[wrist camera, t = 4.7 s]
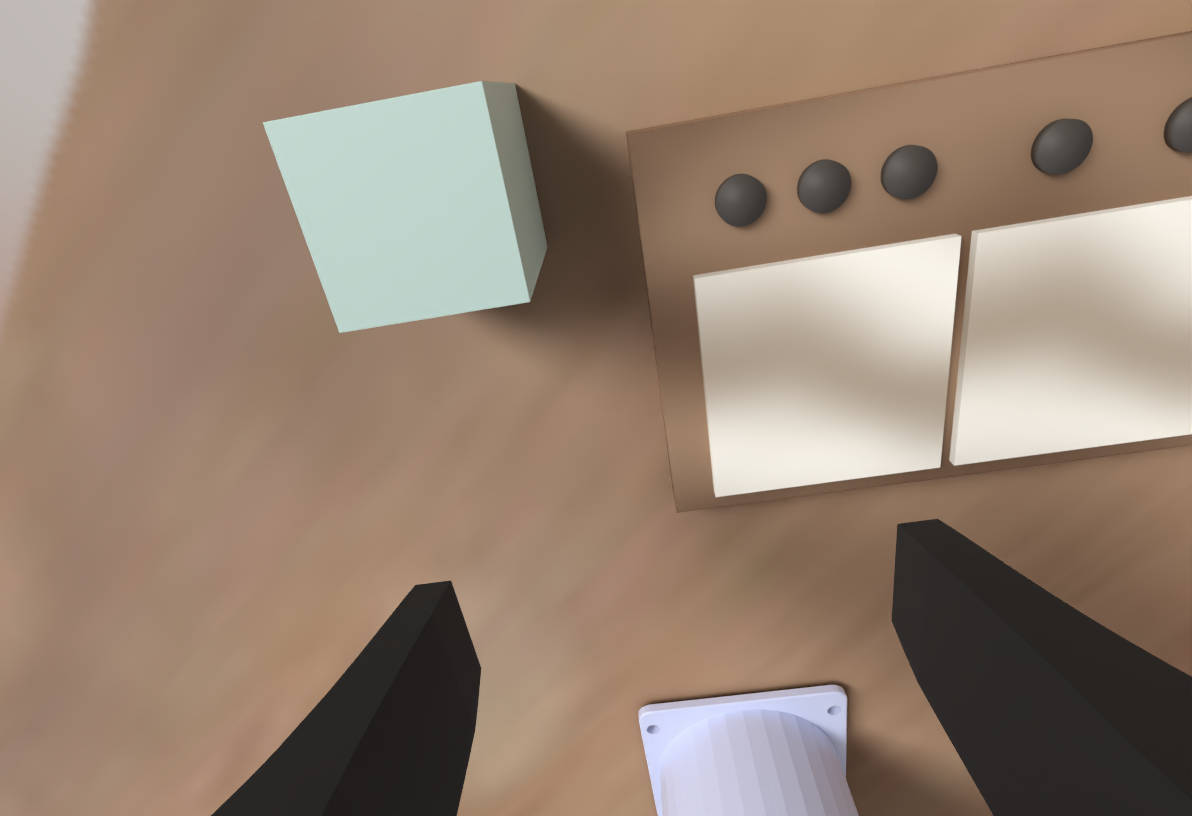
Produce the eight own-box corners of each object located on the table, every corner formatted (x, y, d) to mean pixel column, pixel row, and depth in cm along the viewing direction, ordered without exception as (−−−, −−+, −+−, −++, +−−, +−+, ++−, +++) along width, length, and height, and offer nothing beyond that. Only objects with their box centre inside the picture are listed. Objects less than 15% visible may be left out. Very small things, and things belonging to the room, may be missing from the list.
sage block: (547, 247, 17) (530, 301, 13) (405, 270, 18) (339, 332, 13) (514, 83, 16) (481, 80, 11) (357, 113, 16) (262, 122, 11)
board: (1440, 391, 19) (1495, 411, 18) (673, 494, 21) (677, 518, 20) (1652, -51, 14) (1744, -63, 13) (626, 131, 16) (628, 135, 15)
